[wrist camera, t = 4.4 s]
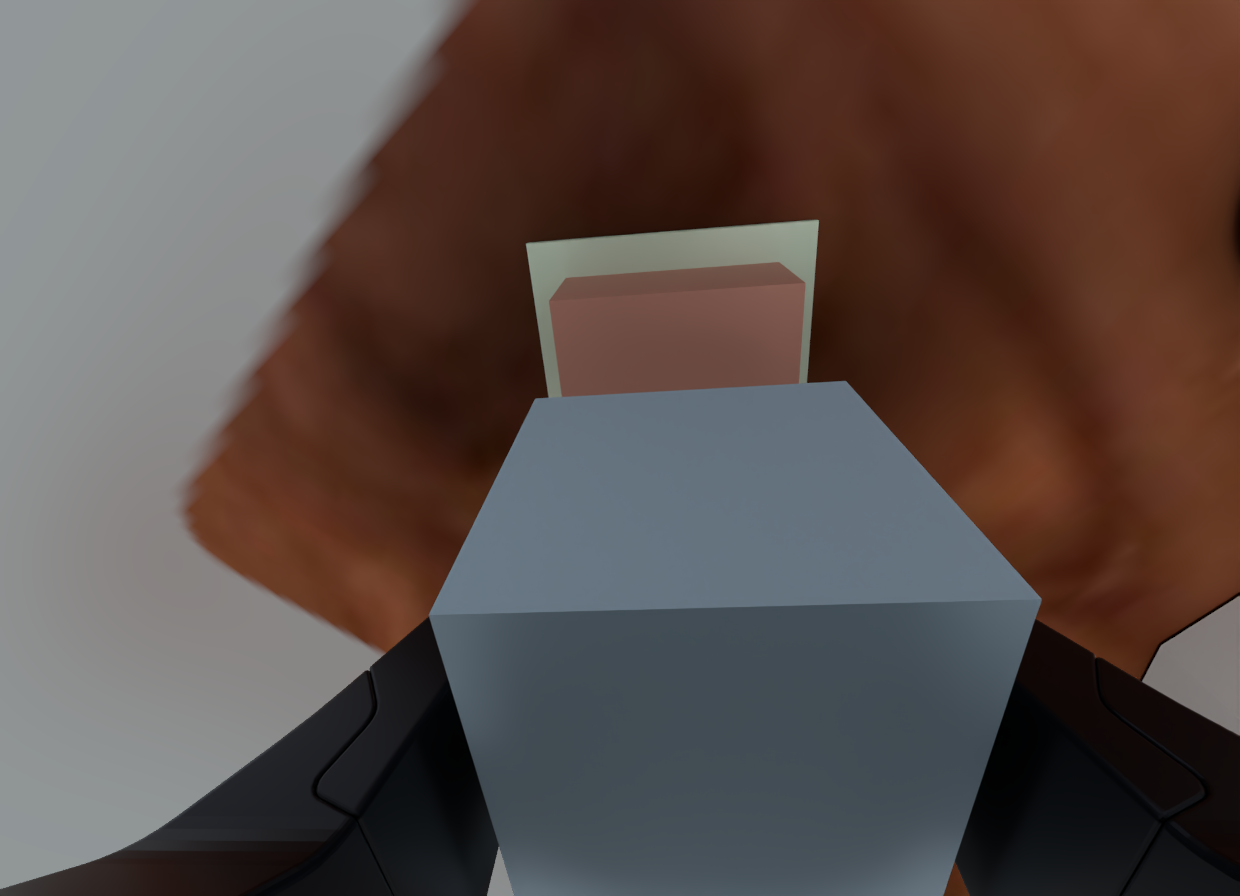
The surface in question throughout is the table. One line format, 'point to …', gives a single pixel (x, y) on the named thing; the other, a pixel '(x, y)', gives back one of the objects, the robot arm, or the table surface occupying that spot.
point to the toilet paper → (1204, 667)
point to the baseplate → (670, 266)
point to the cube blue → (727, 649)
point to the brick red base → (678, 329)
